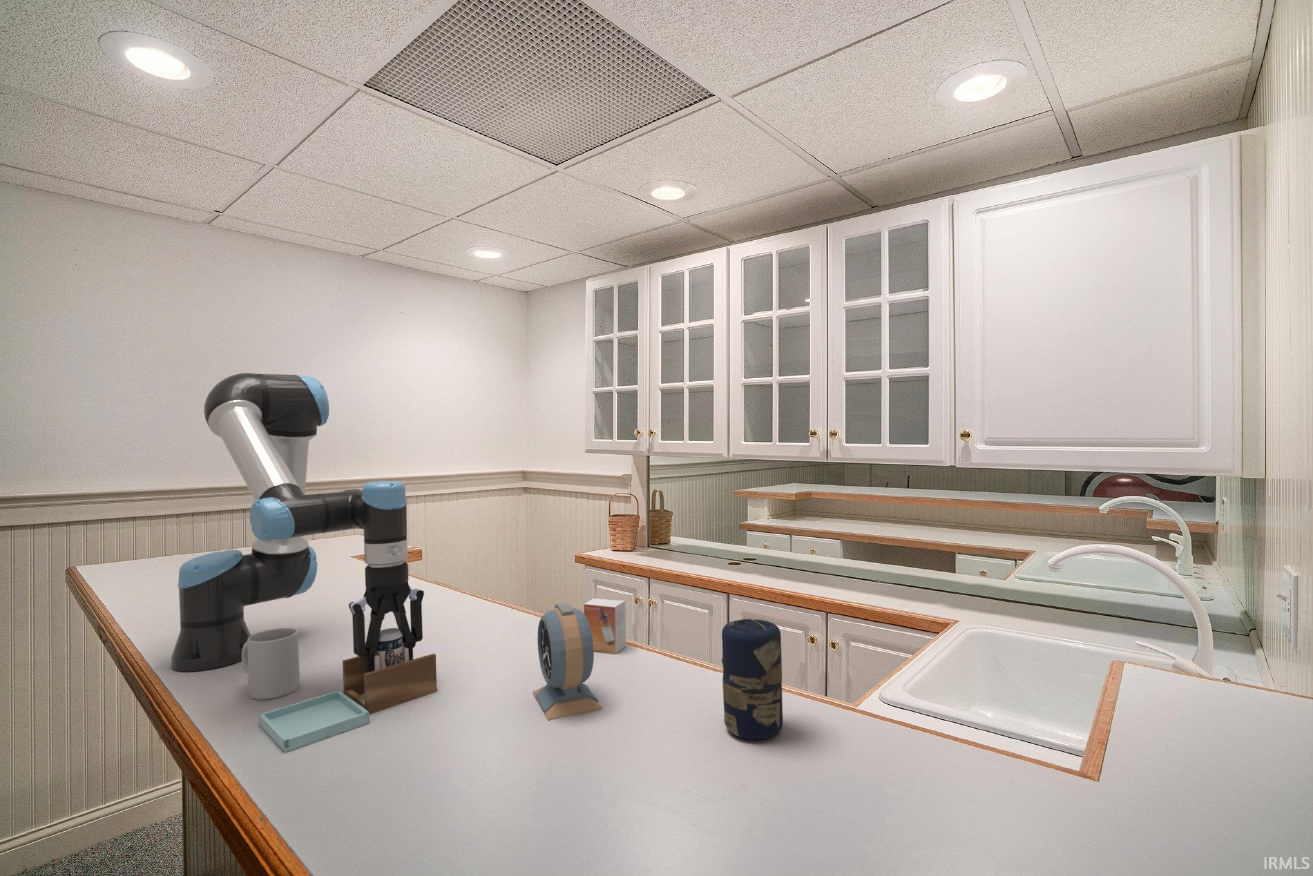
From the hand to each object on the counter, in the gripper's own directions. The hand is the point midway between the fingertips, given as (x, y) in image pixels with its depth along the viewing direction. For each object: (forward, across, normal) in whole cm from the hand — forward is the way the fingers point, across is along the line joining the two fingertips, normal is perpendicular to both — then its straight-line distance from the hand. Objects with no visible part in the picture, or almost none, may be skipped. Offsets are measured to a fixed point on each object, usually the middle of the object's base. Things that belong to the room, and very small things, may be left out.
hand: (390, 685), depth 119 cm
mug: (+2, -15, +21) cm, 26 cm away
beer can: (+2, 0, 0) cm, 2 cm away
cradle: (+2, 0, 0) cm, 2 cm away
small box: (+2, +43, -13) cm, 45 cm away
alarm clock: (+2, +20, -28) cm, 34 cm away
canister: (+2, +33, -60) cm, 69 cm away
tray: (+2, -14, -2) cm, 14 cm away
